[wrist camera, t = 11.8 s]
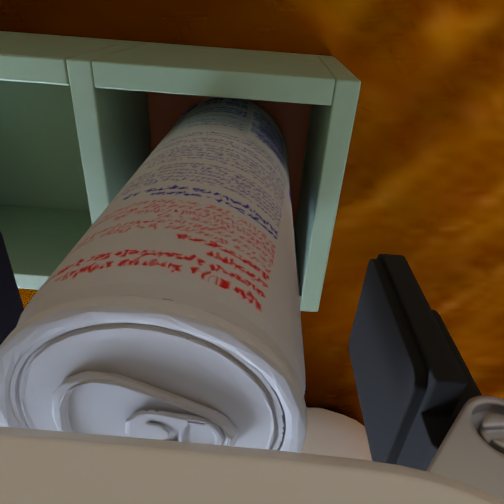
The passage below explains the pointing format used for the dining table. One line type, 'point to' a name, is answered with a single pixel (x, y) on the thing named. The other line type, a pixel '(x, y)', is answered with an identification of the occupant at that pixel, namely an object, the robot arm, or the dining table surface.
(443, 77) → the dining table surface
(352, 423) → the white vase
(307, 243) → the box
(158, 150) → the beverage can
